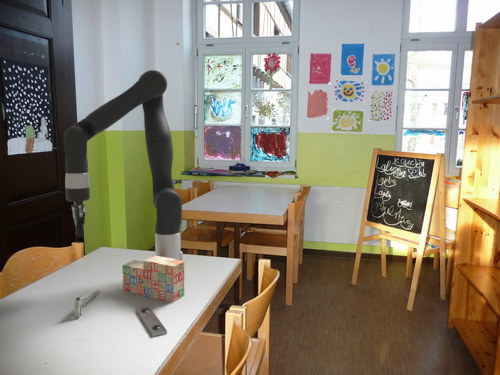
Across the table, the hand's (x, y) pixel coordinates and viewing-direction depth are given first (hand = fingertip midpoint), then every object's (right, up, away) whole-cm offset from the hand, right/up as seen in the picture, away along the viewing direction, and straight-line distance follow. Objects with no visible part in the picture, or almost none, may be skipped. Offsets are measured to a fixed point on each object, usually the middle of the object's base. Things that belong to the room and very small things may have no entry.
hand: (79, 236), depth 140 cm
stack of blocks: (+25, -19, -1) cm, 32 cm away
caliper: (+7, -21, -10) cm, 24 cm away
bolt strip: (+30, -22, -22) cm, 43 cm away
